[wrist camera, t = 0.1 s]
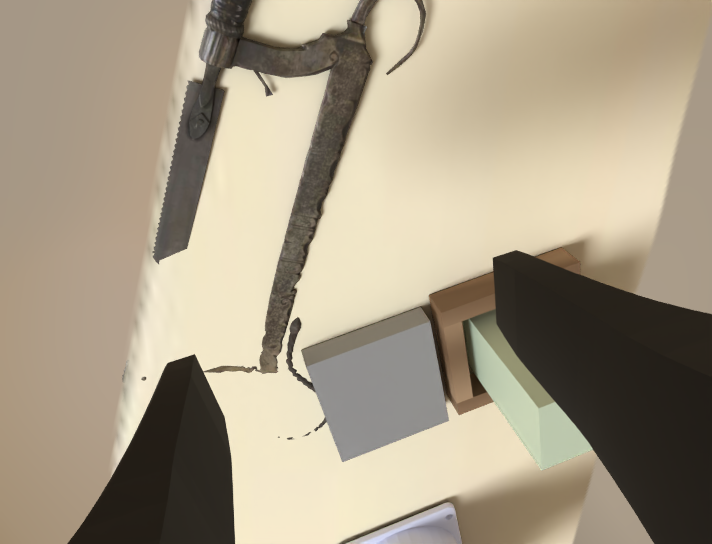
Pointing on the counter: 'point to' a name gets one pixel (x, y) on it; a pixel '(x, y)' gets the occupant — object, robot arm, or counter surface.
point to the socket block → (450, 336)
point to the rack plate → (378, 383)
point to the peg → (520, 395)
